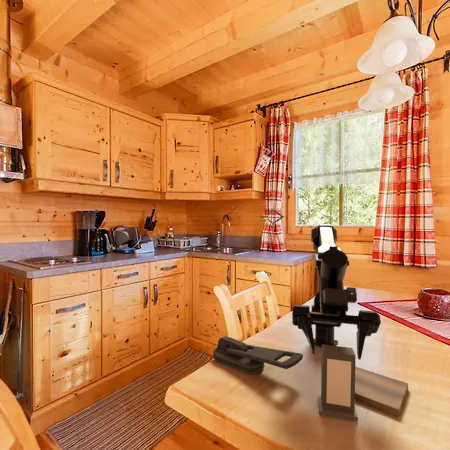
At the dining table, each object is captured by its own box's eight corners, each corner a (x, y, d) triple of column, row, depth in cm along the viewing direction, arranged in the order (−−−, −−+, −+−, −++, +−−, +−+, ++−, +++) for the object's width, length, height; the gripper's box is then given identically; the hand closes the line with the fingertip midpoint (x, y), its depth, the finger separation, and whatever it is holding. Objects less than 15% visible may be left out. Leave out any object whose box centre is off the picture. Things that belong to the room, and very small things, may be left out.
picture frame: (318, 400, 62) (319, 342, 61) (353, 405, 60) (354, 346, 60) (319, 415, 57) (320, 353, 57) (357, 422, 55) (359, 357, 55)
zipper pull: (287, 367, 63) (208, 335, 80) (287, 396, 63) (208, 358, 80) (306, 353, 69) (229, 326, 86) (306, 380, 69) (229, 348, 86)
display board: (353, 371, 73) (353, 365, 73) (408, 389, 66) (408, 383, 66) (337, 393, 64) (337, 386, 64) (398, 417, 56) (398, 409, 56)
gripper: (293, 271, 68) (290, 334, 58) (379, 275, 63) (394, 345, 53) (293, 295, 76) (291, 355, 65) (370, 301, 71) (381, 367, 61)
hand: (336, 356), depth 61 cm, fingers open, 9 cm apart
